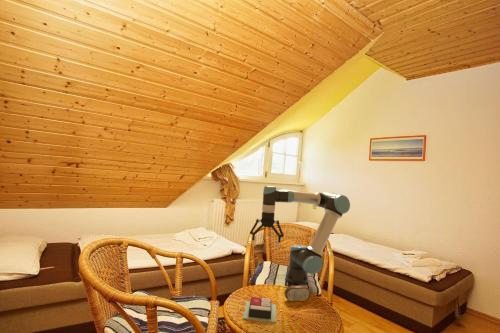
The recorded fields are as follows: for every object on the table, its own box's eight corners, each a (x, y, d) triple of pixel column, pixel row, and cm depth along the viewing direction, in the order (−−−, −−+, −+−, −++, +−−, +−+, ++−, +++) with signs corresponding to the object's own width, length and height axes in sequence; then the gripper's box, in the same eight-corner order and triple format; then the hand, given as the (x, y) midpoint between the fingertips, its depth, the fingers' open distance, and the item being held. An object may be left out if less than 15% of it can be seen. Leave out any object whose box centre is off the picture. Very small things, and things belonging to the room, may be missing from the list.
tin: (307, 299, 166) (308, 284, 166) (310, 301, 163) (311, 286, 163) (283, 300, 162) (284, 285, 162) (285, 302, 159) (286, 287, 159)
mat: (276, 305, 154) (276, 304, 154) (275, 323, 137) (276, 321, 137) (246, 302, 156) (246, 301, 156) (242, 319, 138) (242, 317, 138)
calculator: (271, 298, 154) (271, 310, 139) (270, 306, 153) (271, 319, 138) (251, 295, 154) (249, 307, 140) (250, 304, 154) (248, 316, 139)
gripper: (288, 212, 174) (286, 247, 174) (248, 209, 177) (245, 243, 176) (289, 214, 167) (286, 250, 167) (247, 210, 169) (244, 246, 169)
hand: (265, 247), depth 172 cm, fingers open, 13 cm apart
